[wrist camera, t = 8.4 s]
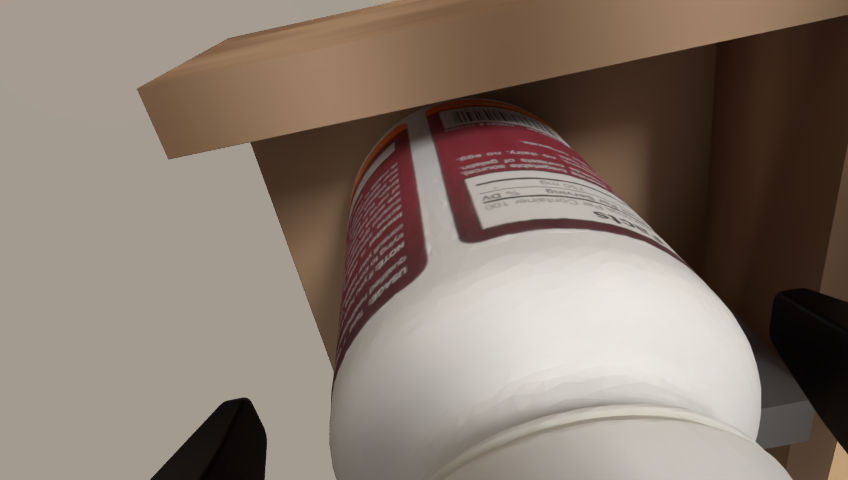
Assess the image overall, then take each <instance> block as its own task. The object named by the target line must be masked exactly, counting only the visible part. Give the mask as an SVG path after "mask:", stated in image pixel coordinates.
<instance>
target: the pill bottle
mask: <svg viewBox="0 0 848 480" xmlns="http://www.w3.org/2000/svg"><path fill="white" fill-rule="evenodd" d="M339 308H340V315H339V324H338V336H337V347H336V358H335V367H334V378H333V385H332V396H331V417H330V450H331V457H332V464H333V469H334V472H335V476H336V479H337V480H793V479H792V478H791V477H790V475H789V474H788V473H787V471H786V470H785V469H784V467H783V466H782V465H781V464H780V463H779V462H778V461H777V460H776V459H775V458H774V457H773V456H772V455H770V454H769V453H768V452H766V451H765V450H764V449H763V448H762V447H761V446H760V445H758V444H757V443H756V442H755V441H756V438H757V435H758V430H759V424H760V418H761V384H760V378H759V373H758V369H757V364H756V361H755V358H754V355H753V352H752V349H751V346H750V343H749V341H748V339H747V337H746V335H745V334H744V332H743V330H742V329H741V327H740V325H739V324H738V322H737V320H736V319H735V317H734V316H733V314H732V313H731V311H730V310H729V309H728V308H727V307H726V305H725V304H724V303H723V302H722V301H721V300H720V298H719V297H718V296H717V295H716V294H715V293H714V292H713V291H712V290H711V289H710V288H709V287H708V286H707V284H706V283H705V282H704V281H703V280H702V279H701V278H700V277H699V276H698V275H697V274H696V273H695V272H694V270H693V269H692V268H691V267H690V266H688V265H687V264H686V263H685V262H684V261H683V260H682V259H681V258H680V257H679V256H678V255H677V254H676V253H675V251H674V250H673V249H672V248H671V247H670V246H669V245H668V244H667V243H666V242H665V241H664V240H663V239H662V238H660V237H659V236H658V235H657V234H656V233H655V232H654V231H653V229H652V228H651V227H650V226H649V225H648V224H647V223H646V222H645V221H644V220H643V219H642V218H641V217H640V216H639V215H638V214H637V213H636V212H635V211H634V210H633V209H632V208H631V207H630V206H629V205H628V204H627V203H626V202H625V201H624V200H623V199H622V198H621V197H620V196H619V195H618V194H617V193H616V192H615V191H614V190H613V189H612V188H611V187H610V186H609V185H608V184H607V183H606V182H605V181H604V180H603V179H602V178H601V177H600V176H599V175H598V174H597V172H596V171H595V170H594V169H593V168H592V167H591V166H590V165H589V164H588V163H587V162H586V161H585V160H584V159H583V158H582V157H581V156H580V155H579V154H578V153H577V152H576V151H575V150H574V149H573V148H572V147H571V146H570V145H569V144H568V143H567V142H566V141H565V140H564V139H563V138H562V137H561V136H560V135H559V134H558V133H557V132H556V131H555V130H554V129H553V128H552V127H551V126H550V125H548V124H547V123H546V122H544V121H543V120H541V119H540V118H538V117H537V116H535V115H533V114H532V113H530V112H528V111H526V110H524V109H522V108H520V107H518V106H515V105H513V104H510V103H507V102H503V101H498V100H494V99H486V98H459V99H451V100H447V101H443V102H439V103H436V104H433V105H429V106H427V107H424V108H422V109H420V110H418V111H416V112H414V113H412V114H410V115H408V116H407V117H405V118H404V119H402V120H401V121H399V122H398V123H396V124H395V125H394V126H393V127H392V128H391V129H389V130H388V131H387V132H386V133H385V134H384V135H383V136H382V137H381V138H380V140H379V141H378V142H377V143H376V144H375V146H374V147H373V148H372V149H371V151H370V152H369V154H368V155H367V157H366V158H365V160H364V162H363V164H362V165H361V168H360V170H359V172H358V174H357V177H356V180H355V183H354V186H353V190H352V195H351V199H350V205H349V214H348V227H347V238H346V251H345V261H344V272H343V281H342V293H341V303H340V307H339Z"/></svg>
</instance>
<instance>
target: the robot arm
mask: <svg viewBox="0 0 848 480" xmlns="http://www.w3.org/2000/svg"><path fill="white" fill-rule="evenodd" d="M769 337H770V340H771V343H772V345H773V347H774V348H775V350H776V351H777V353H778V354H779V356H780V357H781V359H782V360H783V362H784V364H785V365H786V367H787V368H788V370H789V371H790V373H791V374H792V376H793V377H794V379H795V381H796V382H797V384H798V385H799V387H800V388H801V390H802V391H803V393H804V394H805V396H806V398H807V399H808V401H809V402H810V404H811V405H812V407H813V408H814V410H815V411H816V413H817V414H818V416H819V417H820V419H821V420H822V421H823V423H824V424H825V426H826V427H827V428H828V430H829V431H830V432H831V433H832V435H833V436H834V437H835V439H836V440H837V441H838V442H839V444H840V445H841V446H842V447H843V449H844V450H845V451H846V452H847V454H848V302H846V301H843V300H840V299H837V298H834V297H831V296H828V295H825V294H822V293H819V292H816V291H813V290H810V289H807V288H794V289H789V290H784V291H780V292H778V293H776V294H775V296H774V297H773V302H772V309H771V316H770V324H769ZM266 450H267V437H266V433H265V429H264V427H263V425H262V423H261V421H260V419H259V416H258V414H257V413H256V410H255V408H254V406H253V404H252V402H251V401H250V400H249V399H248V398H239V399H234V400H229V401H225V402H223V403H222V404H221V405H220V406H219V407H218V408H217V409H216V410H215V411H214V412H213V413H212V415H210V416H209V418H208V419H207V420H206V421H205V422H204V423H203V424H202V425H201V426H200V427H199V428H198V429H197V430H196V431H195V432H194V434H193V435H192V436H191V437H190V438H189V439H188V440H187V441H186V442H185V443H184V444H183V445H182V446H181V447H180V448H179V450H178V451H177V452H176V453H175V454H174V455H173V456H172V457H171V458H170V459H169V460H168V461H167V462H166V464H164V466H163V467H162V468H161V469H160V470H159V471H158V472H157V473H156V474H155V475H154V476H153V477H152V478H151V480H264V479H265V465H266Z"/></svg>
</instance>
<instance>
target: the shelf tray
mask: <svg viewBox="0 0 848 480" xmlns="http://www.w3.org/2000/svg"><path fill="white" fill-rule="evenodd" d="M137 90H138V92H139V94H140V97H141V99H142V101H143V103H144V106H145V108H146V110H147V112H148V114H149V117H150V119H151V121H152V124H153V126H154V128H155V130H156V133H157V134H158V137H159V139H160V141H161V144H162V146H163V148H164V150H165V153H166V155H167V157H168V159H173V158H178V157H183V156H187V155H192V154H197V153H201V152H206V151H211V150H215V149H220V148H225V147H229V146H234V145H239V144H244V143H248V142H251V145H252V148H253V151H254V153H255V156H256V159H257V161H258V164H259V167H260V170H261V173H262V175H263V178H264V181H265V184H266V186H267V189H268V192H269V194H270V197H271V200H272V203H273V205H274V208H275V211H276V214H277V216H278V219H279V222H280V225H281V227H282V230H283V233H284V236H285V238H286V241H287V244H288V247H289V249H290V252H291V255H292V258H293V260H294V263H295V266H296V269H297V271H298V274H299V277H300V280H301V282H302V285H303V288H304V291H305V293H306V296H307V299H308V302H309V304H310V307H311V310H312V313H313V315H314V318H315V321H316V323H317V326H318V329H319V332H320V335H321V337H322V340H323V343H324V345H325V348H326V351H327V354H328V357H329V359H330V362H331V365H332V368H333V370H334V367H335V358H336V347H337V336H338V324H339V315H340V308H339V307H340V303H341V293H342V281H343V272H344V261H345V251H346V238H347V227H348V214H349V205H350V199H351V195H352V190H353V186H354V183H355V180H356V177H357V174H358V172H359V170H360V168H361V165H362V164H363V162H364V160H365V158H366V157H367V155H368V154H369V152H370V151H371V149H372V148H373V147H374V146H375V144H376V143H377V142H378V141H379V140H380V138H381V137H382V136H383V135H384V134H385V133H386V132H387V131H388V130H389V129H391V128H392V127H393V126H394V125H395V124H396V123H398V122H399V121H401V120H402V119H404V118H405V117H407V116H408V115H410V114H412V113H414V112H416V111H418V110H420V109H422V108H424V107H427V106H429V105H433V104H436V103H439V102H443V101H447V100H451V99H459V98H486V99H494V100H498V101H503V102H507V103H510V104H513V105H515V106H518V107H520V108H522V109H524V110H526V111H528V112H530V113H532V114H533V115H535V116H537V117H538V118H540V119H541V120H543V121H544V122H546V123H547V124H548V125H550V126H551V127H552V128H553V129H554V130H555V131H556V132H557V133H558V134H559V135H560V136H561V137H562V138H563V139H564V140H565V141H566V142H567V143H568V144H569V145H570V146H571V147H572V148H573V149H574V150H575V151H576V152H577V153H578V154H579V155H580V156H581V157H582V158H583V159H584V160H585V161H586V162H587V163H588V164H589V165H590V166H591V167H592V168H593V169H594V170H595V171H596V172H597V174H598V175H599V176H600V177H601V178H602V179H603V180H604V181H605V182H606V183H607V184H608V185H609V186H610V187H611V188H612V189H613V190H614V191H615V192H616V193H617V194H618V195H619V196H620V197H621V198H622V199H623V200H624V201H625V202H626V203H627V204H628V205H629V206H630V207H631V208H632V209H633V210H634V211H635V212H636V213H637V214H638V215H639V216H640V217H641V218H642V219H643V220H644V221H645V222H646V223H647V224H648V225H649V226H650V227H651V228H652V229H653V231H654V232H655V233H656V234H657V235H658V236H659V237H660V238H662V239H663V240H664V241H665V242H666V243H667V244H668V245H669V246H670V247H671V248H672V249H673V250H674V251H675V253H676V254H677V255H678V256H679V257H680V258H681V259H682V260H683V261H684V262H685V263H686V264H687V265H688V266H690V267H691V268H692V269H693V270H694V272H695V273H696V274H697V275H698V276H699V277H700V278H701V279H702V280H703V281H704V282H705V283H706V284H707V286H708V287H709V288H710V289H711V290H712V291H713V292H714V293H715V294H716V295H717V296H718V297H719V298H720V300H721V301H722V302H723V303H724V304H725V305H726V307H727V308H728V309H729V310H730V311H731V313H732V314H733V316H734V317H735V319H736V320H737V322H738V324H739V325H740V327H741V329H742V330H743V332H744V334H745V335H746V337H747V339H748V341H749V343H750V346H751V349H752V352H753V355H754V358H755V361H756V364H757V369H758V373H759V378H760V384H761V418H760V424H759V430H758V435H757V438H756V441H755V442H756V443H757V444H758V445H760V446H761V447H762V448H763V449H764V450H765V451H766V452H768V453H769V454H770V455H772V456H773V457H774V458H775V459H776V460H777V461H778V462H779V463H780V464H781V465H782V466H783V467H784V469H785V470H786V471H787V473H788V474H789V475H790V477H791V478H792V479H793V480H828V476H829V472H830V468H831V464H832V460H833V456H834V452H835V448H836V444H837V440H836V439H835V437H834V436H833V435H832V433H831V432H830V431H829V430H828V428H827V427H826V426H825V424H824V423H823V421H822V420H821V419H820V417H819V416H818V414H817V413H816V411H815V410H814V408H813V407H812V405H811V404H810V402H809V401H808V399H807V398H806V396H805V394H804V393H803V391H802V390H801V388H800V387H799V385H798V384H797V382H796V381H795V379H794V377H793V376H792V374H791V373H790V371H789V370H788V368H787V367H786V365H785V364H784V362H783V360H782V359H781V357H780V356H779V354H778V353H777V351H776V350H775V348H774V347H773V345H772V343H771V340H770V337H769V324H770V316H771V309H772V302H773V297H774V296H775V294H776V293H778V292H780V291H784V290H789V289H794V288H807V289H810V290H813V291H816V292H819V293H822V294H825V295H828V296H831V297H834V298H837V299H840V300H843V301H846V302H848V0H400V1H395V2H391V3H386V4H382V5H377V6H373V7H368V8H364V9H359V10H355V11H350V12H345V13H341V14H336V15H332V16H327V17H323V18H318V19H314V20H309V21H305V22H300V23H295V24H291V25H287V26H282V27H277V28H273V29H269V30H264V31H259V32H255V33H250V34H245V35H241V36H237V37H232V38H228V39H226V40H224V41H223V42H221V43H219V44H217V45H215V46H214V47H212V48H210V49H208V50H206V51H205V52H203V53H201V54H199V55H197V56H195V57H194V58H192V59H190V60H188V61H186V62H185V63H183V64H181V65H179V66H177V67H176V68H174V69H172V70H170V71H168V72H167V73H165V74H163V75H161V76H159V77H157V78H156V79H154V80H152V81H150V82H148V83H147V84H145V85H143V86H141V87H139V88H138V89H137Z"/></svg>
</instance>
